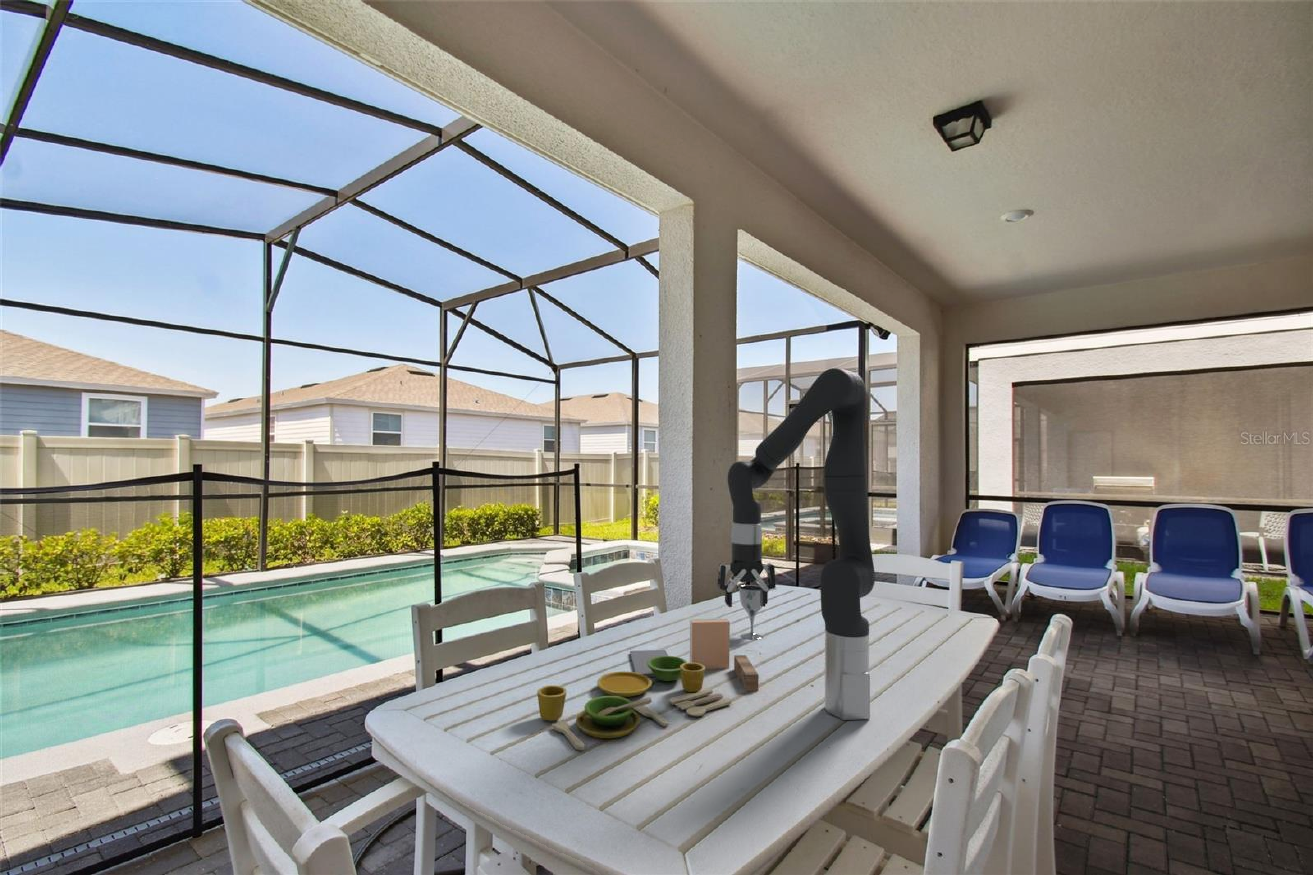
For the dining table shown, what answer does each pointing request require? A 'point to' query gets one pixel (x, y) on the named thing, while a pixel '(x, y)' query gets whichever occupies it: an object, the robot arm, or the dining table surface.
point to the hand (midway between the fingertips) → (746, 606)
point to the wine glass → (750, 607)
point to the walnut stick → (746, 673)
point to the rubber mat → (645, 660)
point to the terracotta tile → (710, 642)
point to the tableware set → (617, 712)
